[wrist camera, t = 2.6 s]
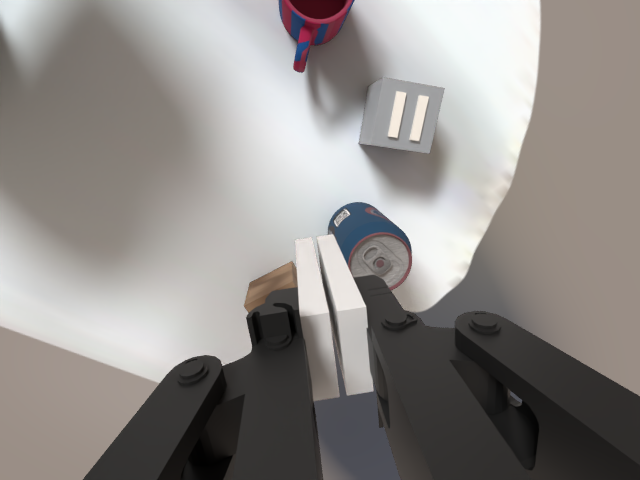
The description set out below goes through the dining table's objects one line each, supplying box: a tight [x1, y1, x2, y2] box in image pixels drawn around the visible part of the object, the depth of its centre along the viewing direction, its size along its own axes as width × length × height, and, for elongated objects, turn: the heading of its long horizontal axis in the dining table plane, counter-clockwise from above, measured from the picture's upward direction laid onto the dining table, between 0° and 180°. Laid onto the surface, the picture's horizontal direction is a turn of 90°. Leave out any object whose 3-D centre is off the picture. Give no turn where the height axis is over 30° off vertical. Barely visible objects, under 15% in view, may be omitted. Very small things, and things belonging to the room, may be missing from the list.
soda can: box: [328, 202, 412, 290], centre depth 35 cm, size 7×7×12 cm
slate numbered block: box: [359, 77, 445, 154], centre depth 34 cm, size 6×6×6 cm
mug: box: [279, 0, 354, 73], centre depth 30 cm, size 7×10×7 cm
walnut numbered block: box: [244, 261, 298, 313], centre depth 39 cm, size 6×6×6 cm
